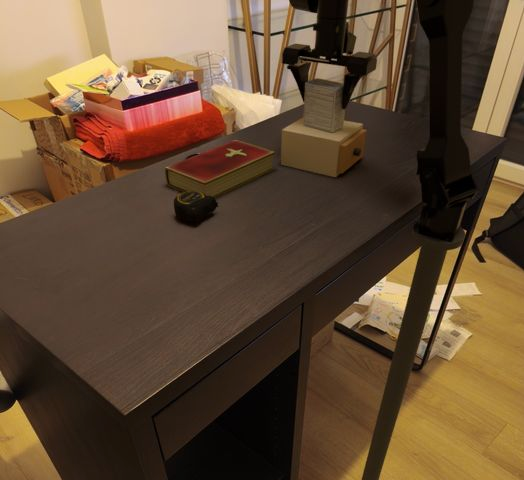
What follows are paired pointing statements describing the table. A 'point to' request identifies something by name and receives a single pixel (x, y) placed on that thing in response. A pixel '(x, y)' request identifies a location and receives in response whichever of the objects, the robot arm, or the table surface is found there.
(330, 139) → the cabinet
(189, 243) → the table surface
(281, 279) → the table surface
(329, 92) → the medicine box
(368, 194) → the table surface
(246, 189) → the table surface
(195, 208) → the tape measure
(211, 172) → the hardcover book
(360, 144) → the drawer
